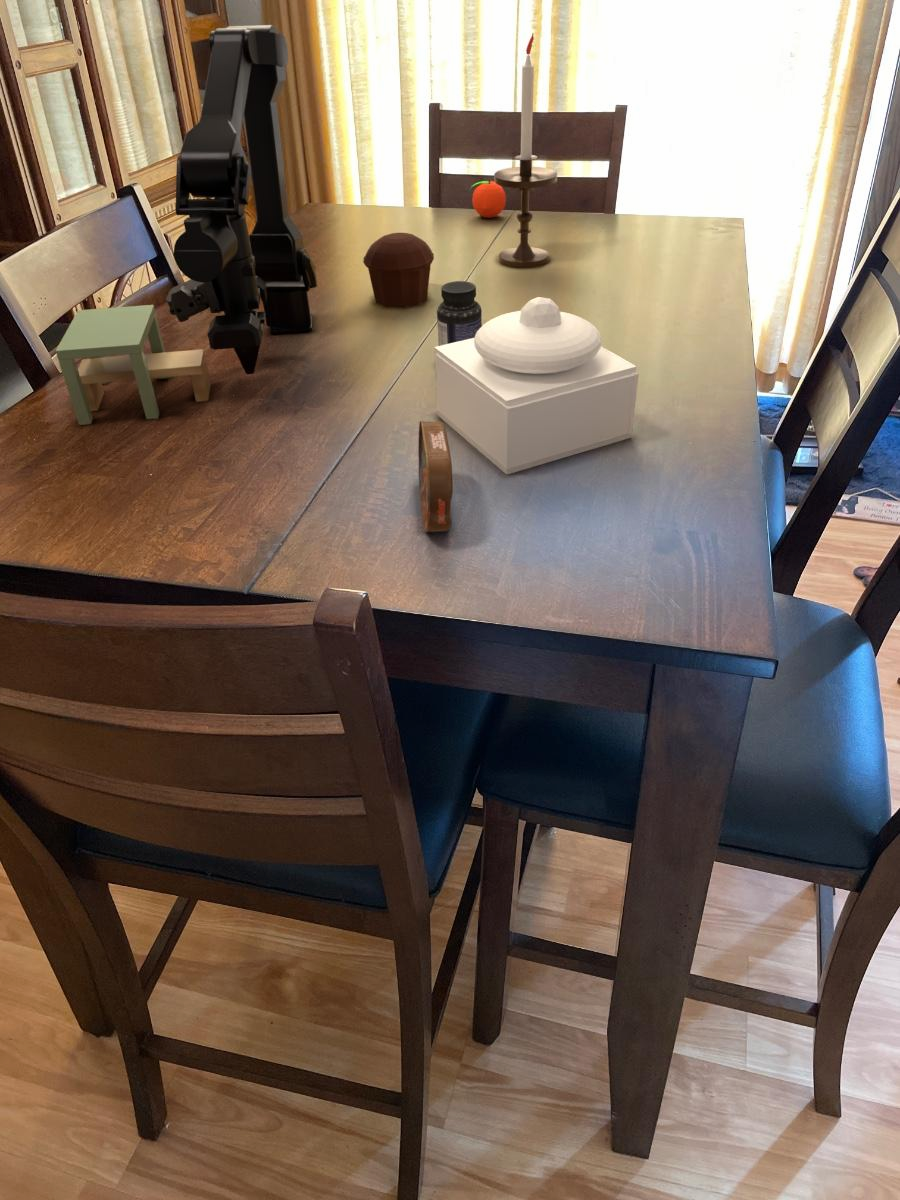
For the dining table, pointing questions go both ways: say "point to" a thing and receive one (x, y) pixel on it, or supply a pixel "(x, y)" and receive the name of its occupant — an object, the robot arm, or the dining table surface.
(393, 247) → the muffin
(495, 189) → the clementine
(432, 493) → the tin
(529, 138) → the candlestick
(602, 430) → the white lidded box
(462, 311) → the pill bottle
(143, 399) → the side table
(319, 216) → the dining table surface
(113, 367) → the bench
